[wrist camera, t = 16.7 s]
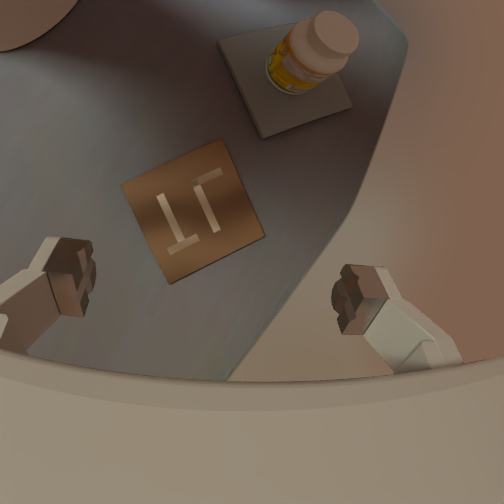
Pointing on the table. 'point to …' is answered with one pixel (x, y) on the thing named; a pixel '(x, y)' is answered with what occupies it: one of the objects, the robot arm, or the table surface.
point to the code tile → (193, 210)
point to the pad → (266, 94)
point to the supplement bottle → (312, 52)
